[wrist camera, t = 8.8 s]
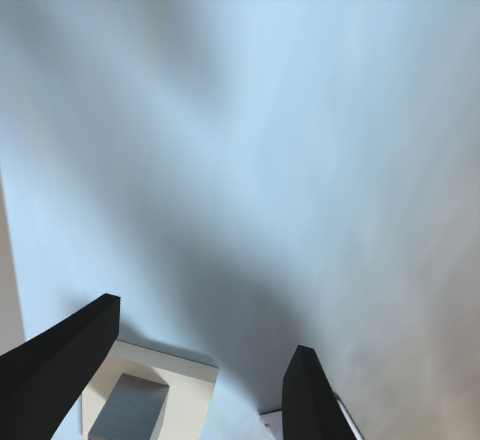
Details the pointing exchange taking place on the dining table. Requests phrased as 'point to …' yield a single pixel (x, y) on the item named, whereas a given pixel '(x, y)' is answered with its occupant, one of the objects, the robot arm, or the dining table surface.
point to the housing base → (161, 371)
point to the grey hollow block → (132, 411)
